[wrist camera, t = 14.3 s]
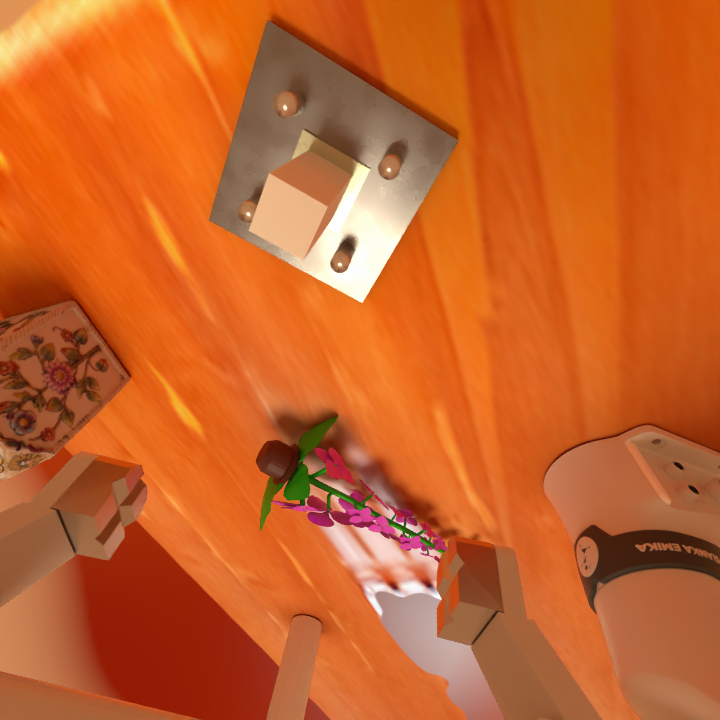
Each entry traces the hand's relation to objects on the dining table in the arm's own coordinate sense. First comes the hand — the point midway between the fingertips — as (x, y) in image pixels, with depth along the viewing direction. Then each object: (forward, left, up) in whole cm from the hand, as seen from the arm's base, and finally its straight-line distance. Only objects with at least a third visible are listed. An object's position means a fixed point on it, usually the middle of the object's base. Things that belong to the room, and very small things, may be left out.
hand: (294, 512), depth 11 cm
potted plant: (-7, +37, -32) cm, 49 cm away
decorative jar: (+35, +24, -31) cm, 53 cm away
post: (+6, -1, -30) cm, 30 cm away
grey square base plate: (+6, -1, -31) cm, 32 cm away
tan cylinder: (0, +81, -31) cm, 87 cm away
